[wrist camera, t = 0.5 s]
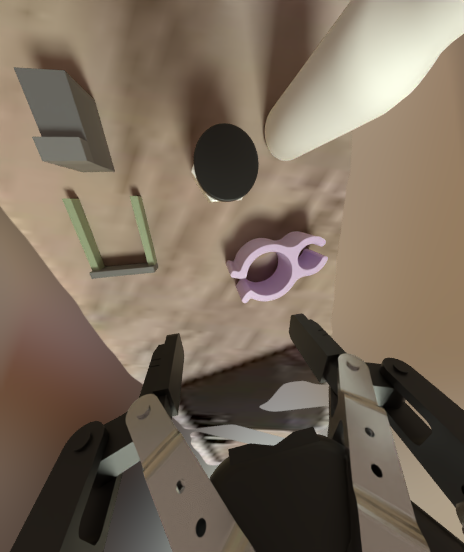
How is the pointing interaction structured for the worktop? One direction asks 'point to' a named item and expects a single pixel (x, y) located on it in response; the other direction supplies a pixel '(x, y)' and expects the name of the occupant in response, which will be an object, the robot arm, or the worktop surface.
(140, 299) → the worktop surface
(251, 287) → the clip
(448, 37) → the alcohol
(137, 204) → the deck socket
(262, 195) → the worktop surface
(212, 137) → the jar
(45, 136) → the upright grey block
